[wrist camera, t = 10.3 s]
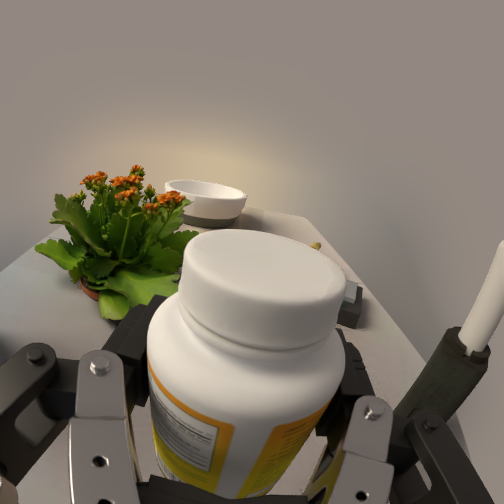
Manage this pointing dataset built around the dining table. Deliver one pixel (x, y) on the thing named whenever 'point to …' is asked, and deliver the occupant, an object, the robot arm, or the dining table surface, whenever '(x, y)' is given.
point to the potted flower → (121, 242)
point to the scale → (350, 305)
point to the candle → (460, 353)
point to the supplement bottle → (243, 360)
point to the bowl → (209, 202)
